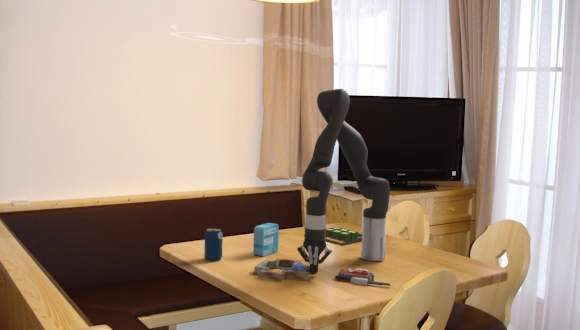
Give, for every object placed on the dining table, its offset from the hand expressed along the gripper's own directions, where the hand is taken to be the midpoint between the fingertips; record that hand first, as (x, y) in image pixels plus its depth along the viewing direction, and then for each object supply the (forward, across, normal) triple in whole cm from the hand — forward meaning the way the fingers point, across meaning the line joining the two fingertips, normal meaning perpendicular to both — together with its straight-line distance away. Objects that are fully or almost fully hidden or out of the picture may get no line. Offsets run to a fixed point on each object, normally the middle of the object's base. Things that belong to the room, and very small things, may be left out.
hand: (313, 273), depth 214 cm
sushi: (+2, +8, -68) cm, 68 cm away
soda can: (+1, +43, -5) cm, 43 cm away
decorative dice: (+1, +6, 0) cm, 6 cm away
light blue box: (+1, +28, -23) cm, 36 cm away
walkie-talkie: (+2, -18, -2) cm, 18 cm away
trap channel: (+1, +11, 0) cm, 11 cm away
